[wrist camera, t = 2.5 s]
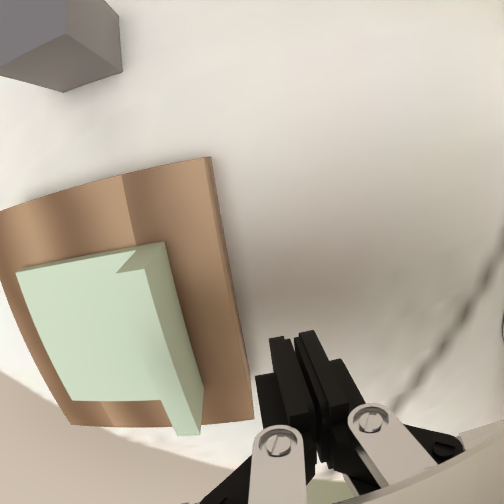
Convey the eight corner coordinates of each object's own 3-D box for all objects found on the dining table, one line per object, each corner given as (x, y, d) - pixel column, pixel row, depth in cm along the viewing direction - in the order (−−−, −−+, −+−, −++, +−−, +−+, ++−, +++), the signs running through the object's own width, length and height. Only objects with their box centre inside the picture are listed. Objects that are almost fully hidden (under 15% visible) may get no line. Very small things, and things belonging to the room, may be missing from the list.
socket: (210, 156, 19) (203, 157, 14) (250, 373, 24) (254, 419, 19) (25, 203, 18) (-18, 217, 14) (90, 385, 23) (70, 424, 19)
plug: (118, 16, 15) (69, -38, 8) (122, 72, 17) (65, 33, 9) (61, 37, 15) (-4, 2, 8) (63, 92, 17) (-10, 73, 9)
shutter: (164, 241, 15) (144, 269, 11) (204, 387, 18) (200, 434, 14) (22, 267, 15) (-16, 294, 11) (76, 393, 17) (56, 431, 14)
